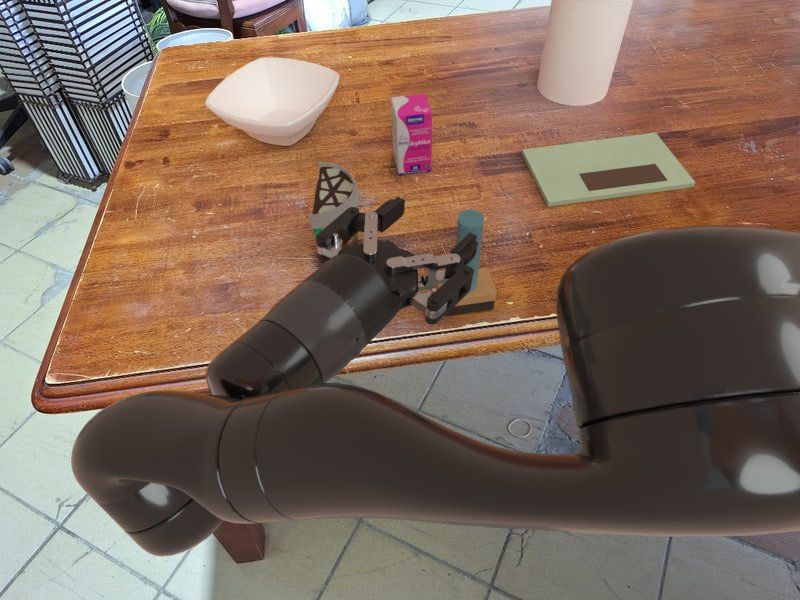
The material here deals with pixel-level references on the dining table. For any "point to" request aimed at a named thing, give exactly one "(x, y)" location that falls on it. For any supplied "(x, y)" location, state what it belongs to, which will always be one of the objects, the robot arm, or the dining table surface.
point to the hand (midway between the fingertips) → (436, 222)
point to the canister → (581, 49)
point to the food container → (333, 197)
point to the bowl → (274, 98)
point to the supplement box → (411, 133)
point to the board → (605, 169)
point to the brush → (482, 282)
